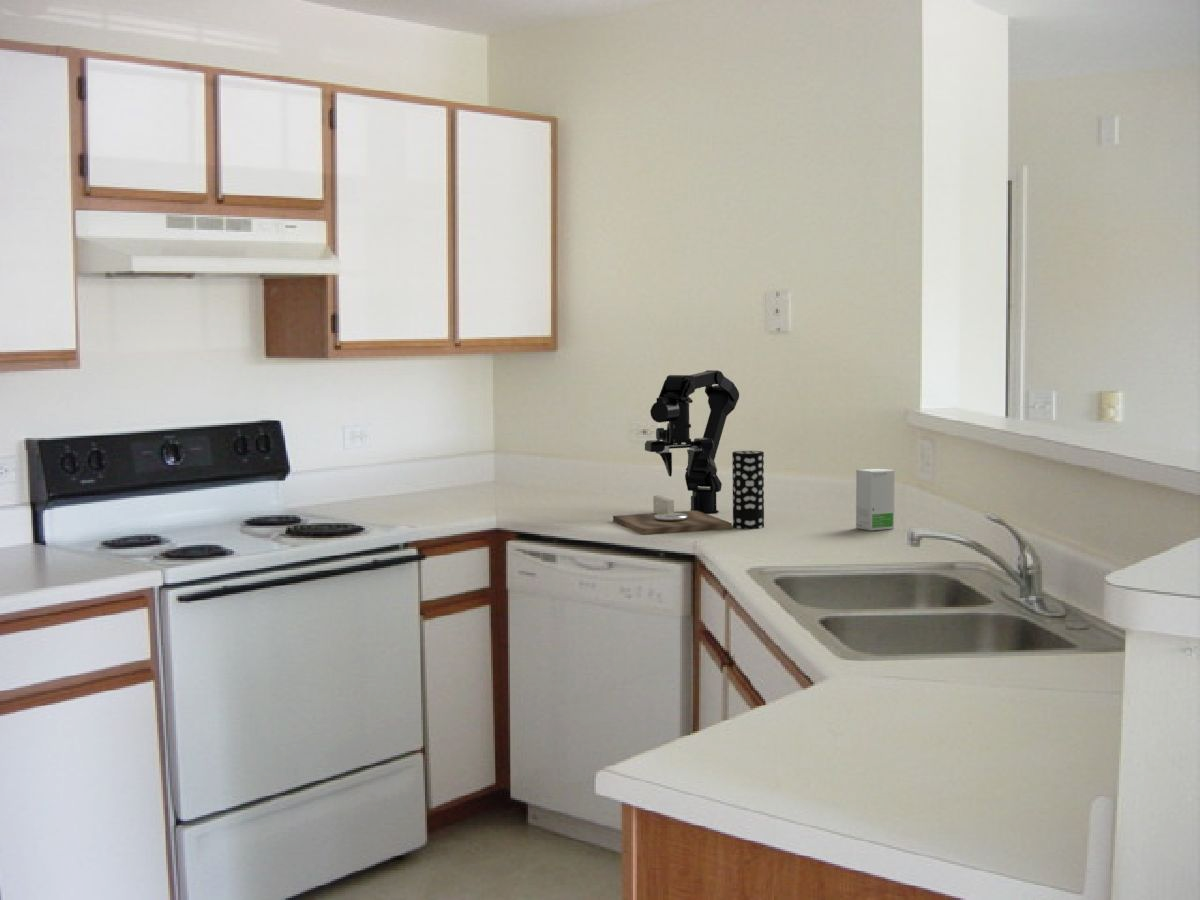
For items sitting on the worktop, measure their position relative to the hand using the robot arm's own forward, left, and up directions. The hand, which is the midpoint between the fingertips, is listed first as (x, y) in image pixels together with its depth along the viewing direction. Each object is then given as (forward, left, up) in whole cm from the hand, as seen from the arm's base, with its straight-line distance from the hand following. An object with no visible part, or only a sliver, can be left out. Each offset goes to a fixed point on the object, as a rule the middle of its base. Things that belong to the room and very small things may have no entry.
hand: (679, 475), depth 367 cm
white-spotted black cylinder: (-12, +21, -12) cm, 27 cm away
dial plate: (+6, +10, -12) cm, 17 cm away
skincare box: (-41, +37, -12) cm, 56 cm away
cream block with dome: (+7, +7, -10) cm, 14 cm away
